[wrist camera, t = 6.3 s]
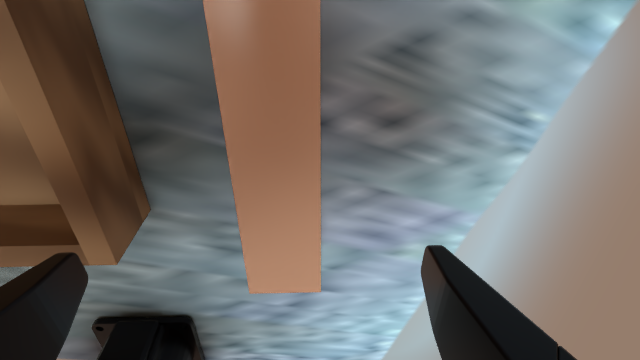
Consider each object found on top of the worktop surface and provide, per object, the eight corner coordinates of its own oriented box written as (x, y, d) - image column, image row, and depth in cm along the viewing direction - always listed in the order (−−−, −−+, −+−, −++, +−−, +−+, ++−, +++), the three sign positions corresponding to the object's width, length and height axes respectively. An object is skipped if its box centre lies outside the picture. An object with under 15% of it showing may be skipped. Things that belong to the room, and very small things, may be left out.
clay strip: (319, 237, 21) (320, 291, 18) (259, 238, 21) (249, 293, 18) (317, -76, 13) (320, -85, 10) (220, -76, 13) (189, -85, 10)
